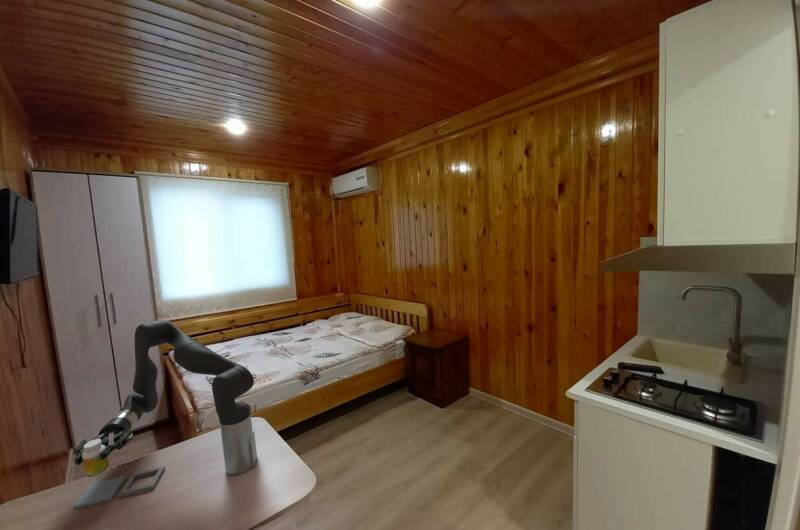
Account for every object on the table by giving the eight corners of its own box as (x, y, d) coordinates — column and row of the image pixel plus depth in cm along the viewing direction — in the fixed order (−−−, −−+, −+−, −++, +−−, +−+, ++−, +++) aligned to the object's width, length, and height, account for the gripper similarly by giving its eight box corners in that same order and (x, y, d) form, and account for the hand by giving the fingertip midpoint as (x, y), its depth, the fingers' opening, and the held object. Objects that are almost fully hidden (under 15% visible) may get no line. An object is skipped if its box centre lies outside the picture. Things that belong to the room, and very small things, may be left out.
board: (126, 478, 106) (125, 475, 106) (111, 499, 97) (110, 497, 97) (92, 485, 103) (92, 483, 103) (73, 508, 95) (73, 506, 94)
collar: (165, 469, 109) (164, 466, 109) (153, 489, 100) (153, 485, 100) (133, 476, 106) (133, 473, 106) (119, 497, 98) (118, 494, 98)
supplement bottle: (95, 479, 96) (89, 450, 95) (81, 477, 97) (75, 448, 96) (114, 466, 102) (108, 438, 100) (100, 464, 103) (95, 436, 101)
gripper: (92, 421, 110) (56, 454, 94) (142, 412, 114) (116, 442, 98) (95, 441, 111) (61, 477, 95) (145, 431, 115) (120, 465, 99)
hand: (89, 459), depth 96 cm, fingers closed on supplement bottle, 5 cm apart
